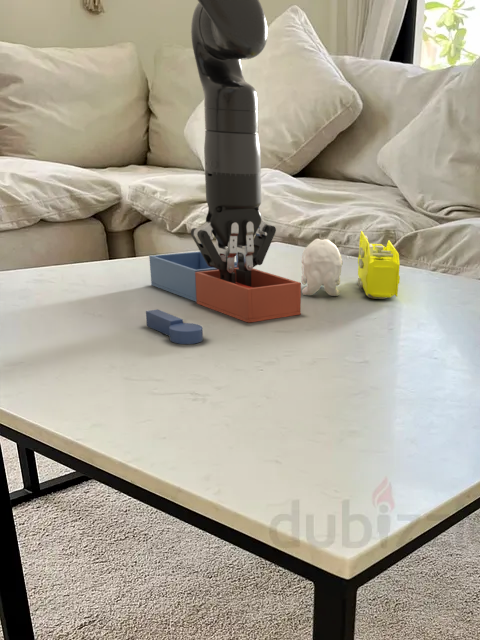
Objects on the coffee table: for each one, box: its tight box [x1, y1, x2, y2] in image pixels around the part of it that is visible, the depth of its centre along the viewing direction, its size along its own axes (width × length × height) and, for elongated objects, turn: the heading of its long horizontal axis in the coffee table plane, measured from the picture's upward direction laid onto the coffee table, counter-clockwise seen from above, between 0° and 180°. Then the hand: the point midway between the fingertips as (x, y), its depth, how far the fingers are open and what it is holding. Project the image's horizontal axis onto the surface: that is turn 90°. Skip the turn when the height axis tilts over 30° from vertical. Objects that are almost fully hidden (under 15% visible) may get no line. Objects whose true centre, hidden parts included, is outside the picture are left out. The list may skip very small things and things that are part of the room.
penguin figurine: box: [301, 238, 344, 297], centre depth 125 cm, size 6×8×12 cm
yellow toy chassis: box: [357, 230, 401, 300], centre depth 128 cm, size 16×6×8 cm, turn 7°
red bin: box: [195, 268, 302, 324], centre depth 112 cm, size 9×13×4 cm
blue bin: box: [148, 250, 239, 303], centre depth 121 cm, size 9×13×4 cm
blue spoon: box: [145, 309, 204, 345], centre depth 99 cm, size 4×10×2 cm, turn 45°
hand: (236, 296), depth 114 cm, fingers closed
